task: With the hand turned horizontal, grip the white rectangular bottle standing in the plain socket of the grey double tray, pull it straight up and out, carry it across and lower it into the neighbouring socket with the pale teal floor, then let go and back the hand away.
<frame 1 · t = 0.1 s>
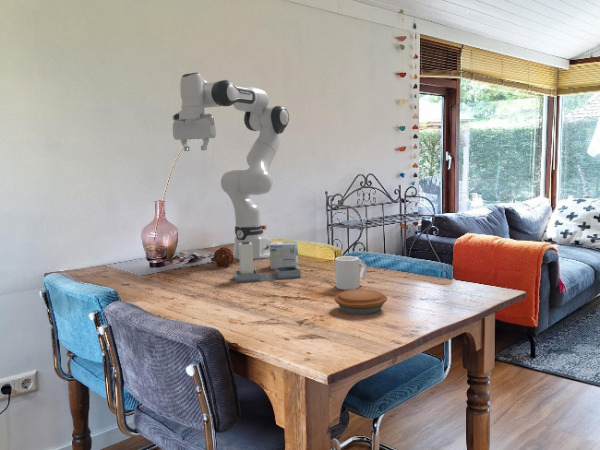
hand: (195, 150, 222), 48 cm above the table, tool pointing down, fingers open, 8 cm apart
light bulb box: (284, 270, 225), on the table
grey double tray: (267, 279, 207), on the table
white rectangular bottle: (247, 278, 205), point 1 cm above the table, touching grey double tray
pie: (360, 310, 166), on the table
mug: (351, 286, 194), on the table
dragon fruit: (223, 266, 236), on the table
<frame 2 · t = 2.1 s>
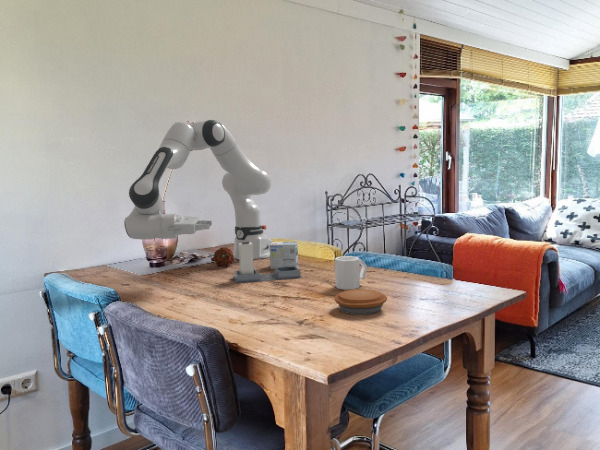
hand: (210, 224, 202), 21 cm above the table, tool horizontal, fingers open, 8 cm apart
nothing on the table moved.
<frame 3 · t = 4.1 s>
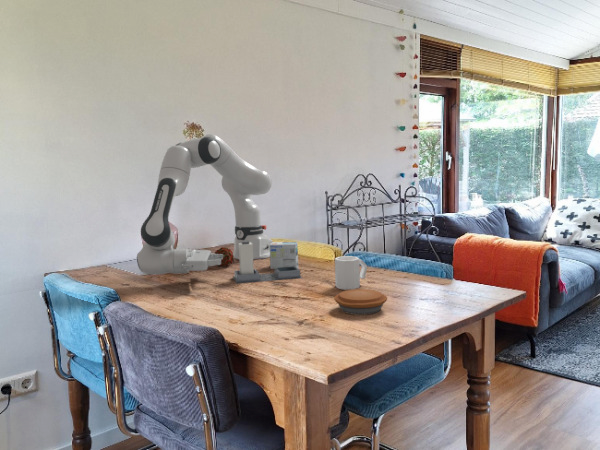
hand: (222, 259, 204), 9 cm above the table, tool horizontal, fingers open, 8 cm apart
nothing on the table moved.
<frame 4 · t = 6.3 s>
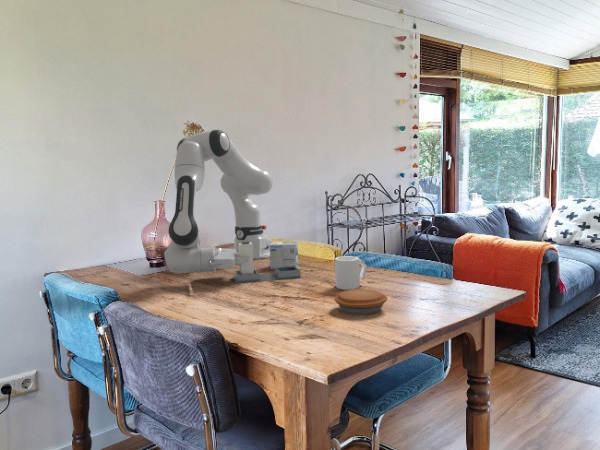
hand: (248, 257, 204), 9 cm above the table, tool horizontal, fingers closed on white rectangular bottle, 5 cm apart
white rectangular bottle: (247, 278, 205), point 1 cm above the table, touching gripper, grey double tray
everything else where it was.
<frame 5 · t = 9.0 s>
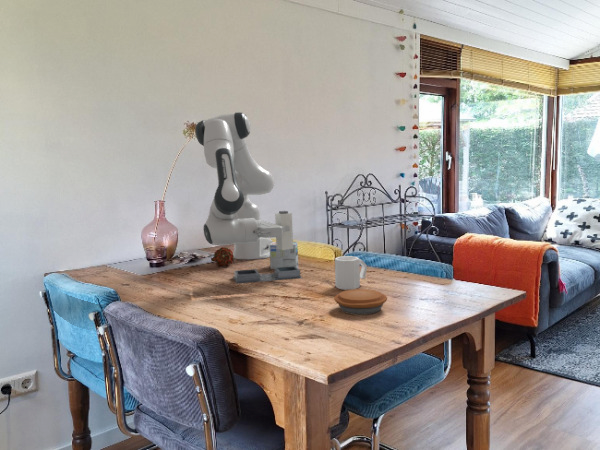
hand: (286, 227, 207), 19 cm above the table, tool horizontal, fingers closed on white rectangular bottle, 5 cm apart
white rectangular bottle: (284, 248, 207), point 11 cm above the table, touching gripper
everything else where it was.
when the fingers open (10 cm above the table, at t = 11.6 s): white rectangular bottle drops 1 cm, resting on grey double tray.
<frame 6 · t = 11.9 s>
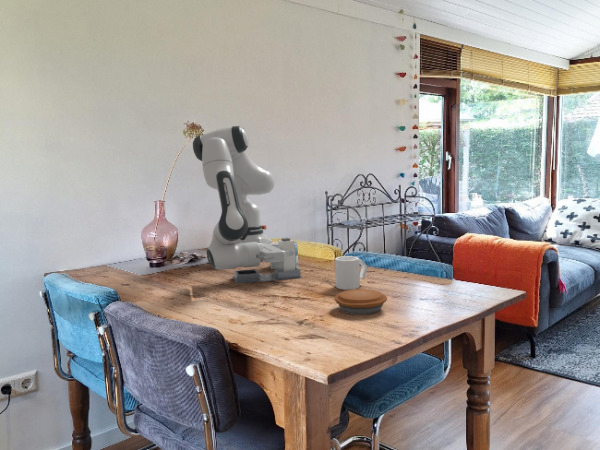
hand: (288, 250, 208), 10 cm above the table, tool horizontal, fingers open, 8 cm apart
white rectangular bottle: (287, 275, 209), point 1 cm above the table, touching grey double tray
everything else where it was.
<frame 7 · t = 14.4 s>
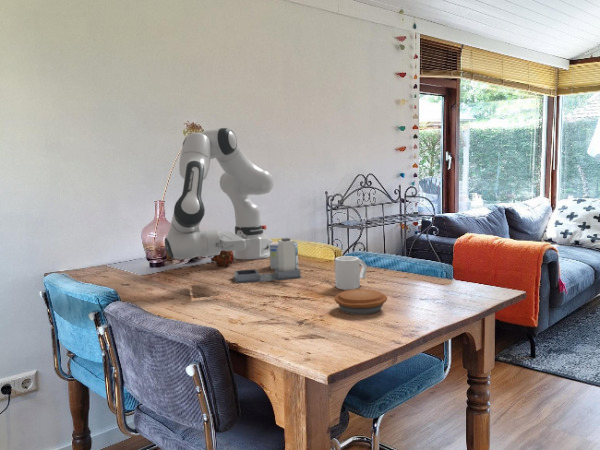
hand: (250, 238, 203), 16 cm above the table, tool horizontal, fingers open, 8 cm apart
nothing on the table moved.
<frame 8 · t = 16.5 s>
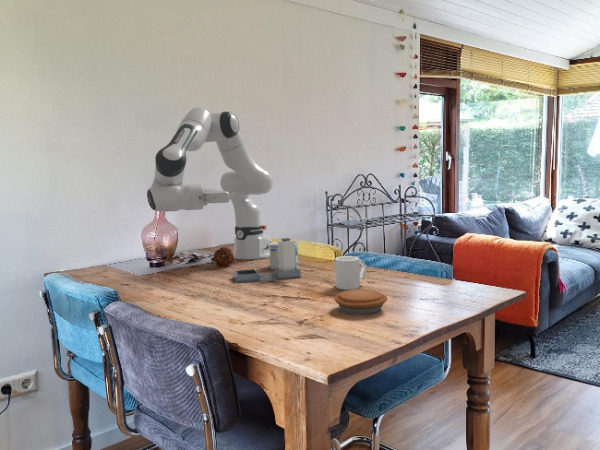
hand: (235, 194, 200), 32 cm above the table, tool horizontal, fingers open, 8 cm apart
nothing on the table moved.
at the end: white rectangular bottle 0.0 cm from the target spot, point 1.1 cm above the table; white rectangular bottle tilted 0°; the gripper is holding nothing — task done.
